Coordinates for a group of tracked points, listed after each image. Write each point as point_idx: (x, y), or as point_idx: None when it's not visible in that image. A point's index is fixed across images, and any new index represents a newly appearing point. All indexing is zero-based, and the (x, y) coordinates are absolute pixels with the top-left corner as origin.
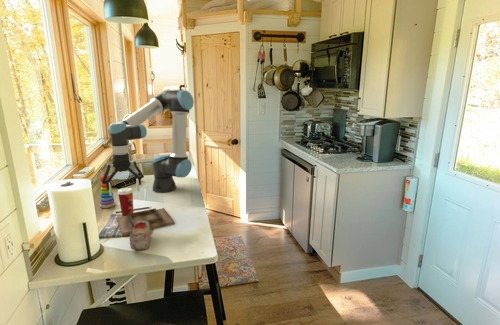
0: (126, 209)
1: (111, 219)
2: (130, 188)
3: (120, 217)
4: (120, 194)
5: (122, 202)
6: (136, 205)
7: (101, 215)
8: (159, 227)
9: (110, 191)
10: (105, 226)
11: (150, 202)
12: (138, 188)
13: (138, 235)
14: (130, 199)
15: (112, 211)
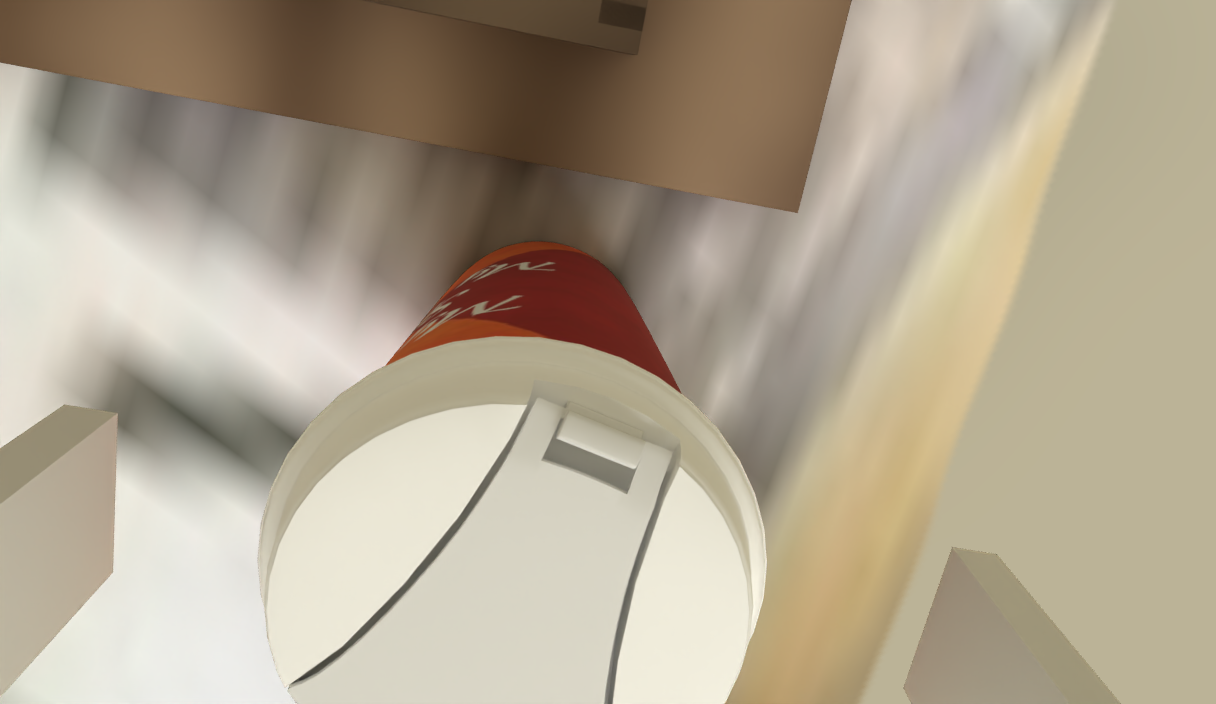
0: (587, 271)
1: (840, 312)
2: (301, 642)
3: (743, 166)
4: (727, 447)
5: (660, 357)
6: None
7: (890, 585)
8: None
9: (1049, 643)
10: (1037, 70)
11: None
12: (26, 459)
13: None
14: (453, 318)
15: None
